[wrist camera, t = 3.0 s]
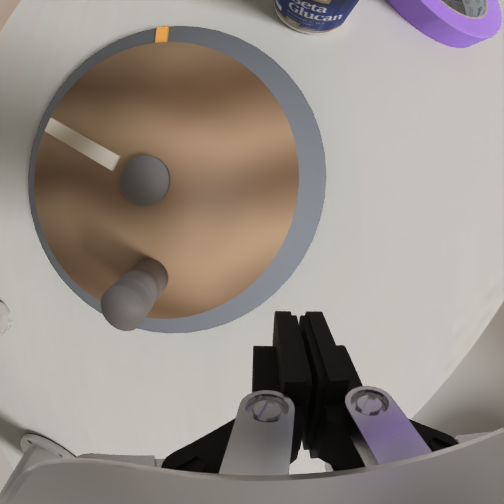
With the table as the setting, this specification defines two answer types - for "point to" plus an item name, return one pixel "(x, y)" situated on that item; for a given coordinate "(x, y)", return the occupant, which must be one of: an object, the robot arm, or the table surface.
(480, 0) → the masking tape
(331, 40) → the table surface
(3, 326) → the milkshake
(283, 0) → the pill bottle
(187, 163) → the dial
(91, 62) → the base plate
